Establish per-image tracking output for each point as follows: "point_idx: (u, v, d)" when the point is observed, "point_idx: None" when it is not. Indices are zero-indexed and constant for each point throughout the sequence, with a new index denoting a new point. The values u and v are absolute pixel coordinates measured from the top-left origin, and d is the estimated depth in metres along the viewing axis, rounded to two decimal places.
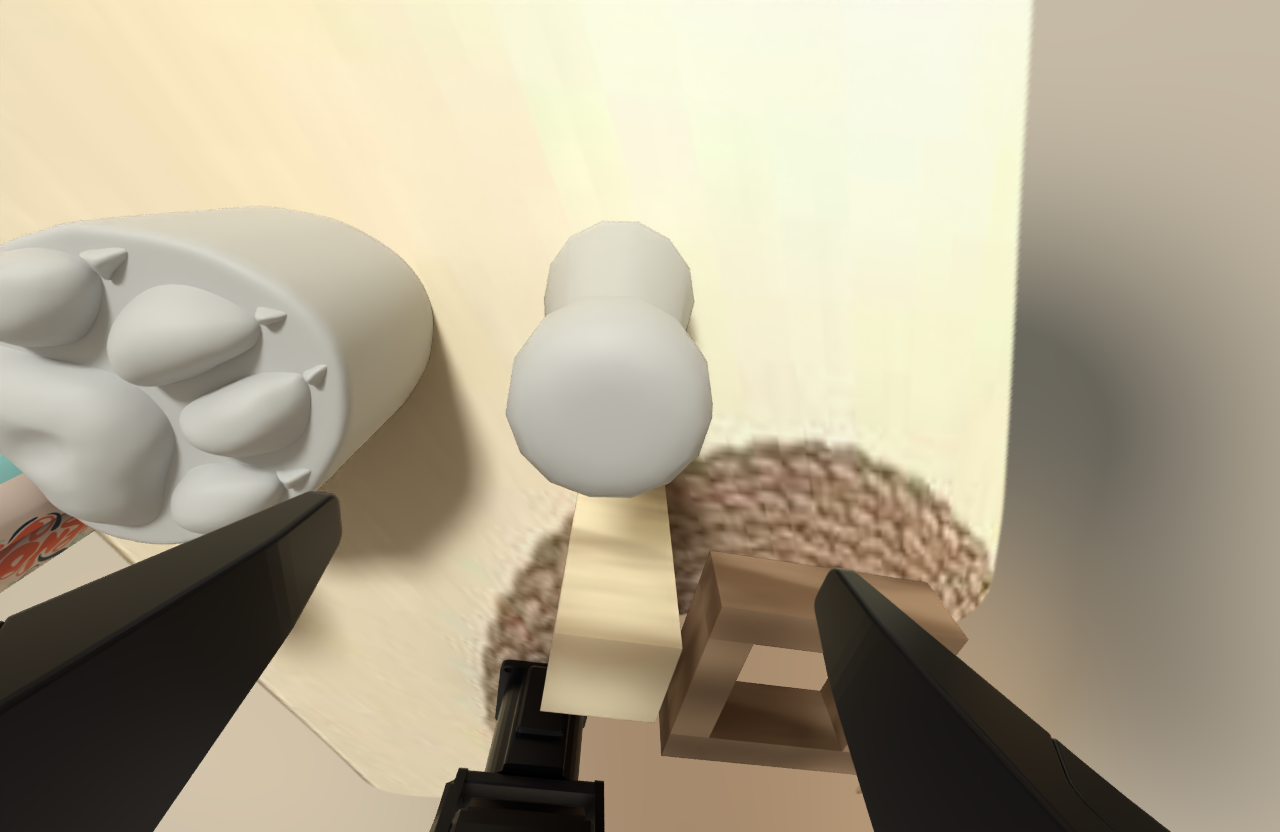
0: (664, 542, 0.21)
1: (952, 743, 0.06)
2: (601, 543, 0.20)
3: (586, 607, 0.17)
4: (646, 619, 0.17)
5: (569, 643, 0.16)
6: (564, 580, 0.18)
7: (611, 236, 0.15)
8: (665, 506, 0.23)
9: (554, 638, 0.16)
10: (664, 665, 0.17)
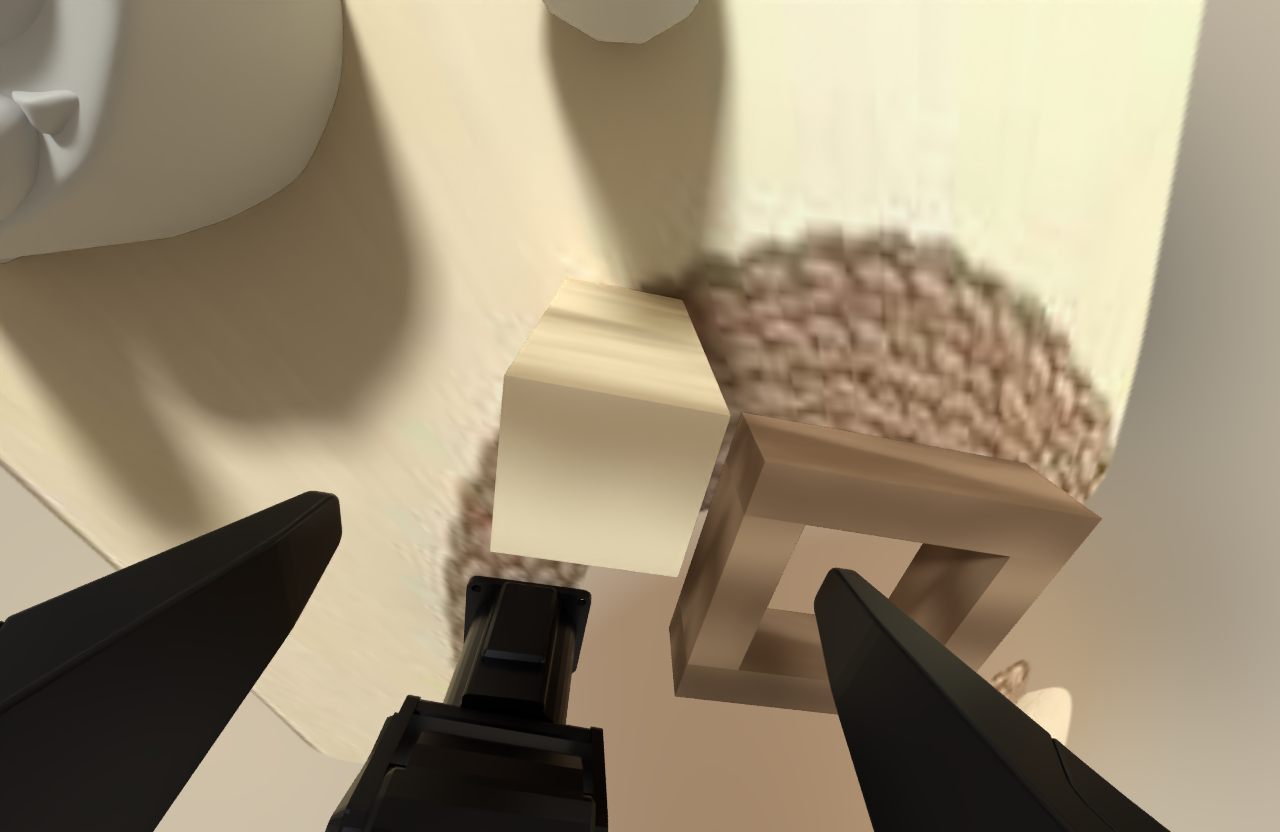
0: (687, 334, 0.14)
1: (952, 743, 0.06)
2: (592, 322, 0.13)
3: (564, 362, 0.10)
4: (666, 384, 0.10)
5: (531, 400, 0.09)
6: (530, 338, 0.11)
7: None
8: (685, 313, 0.16)
9: (505, 388, 0.09)
10: (697, 454, 0.10)
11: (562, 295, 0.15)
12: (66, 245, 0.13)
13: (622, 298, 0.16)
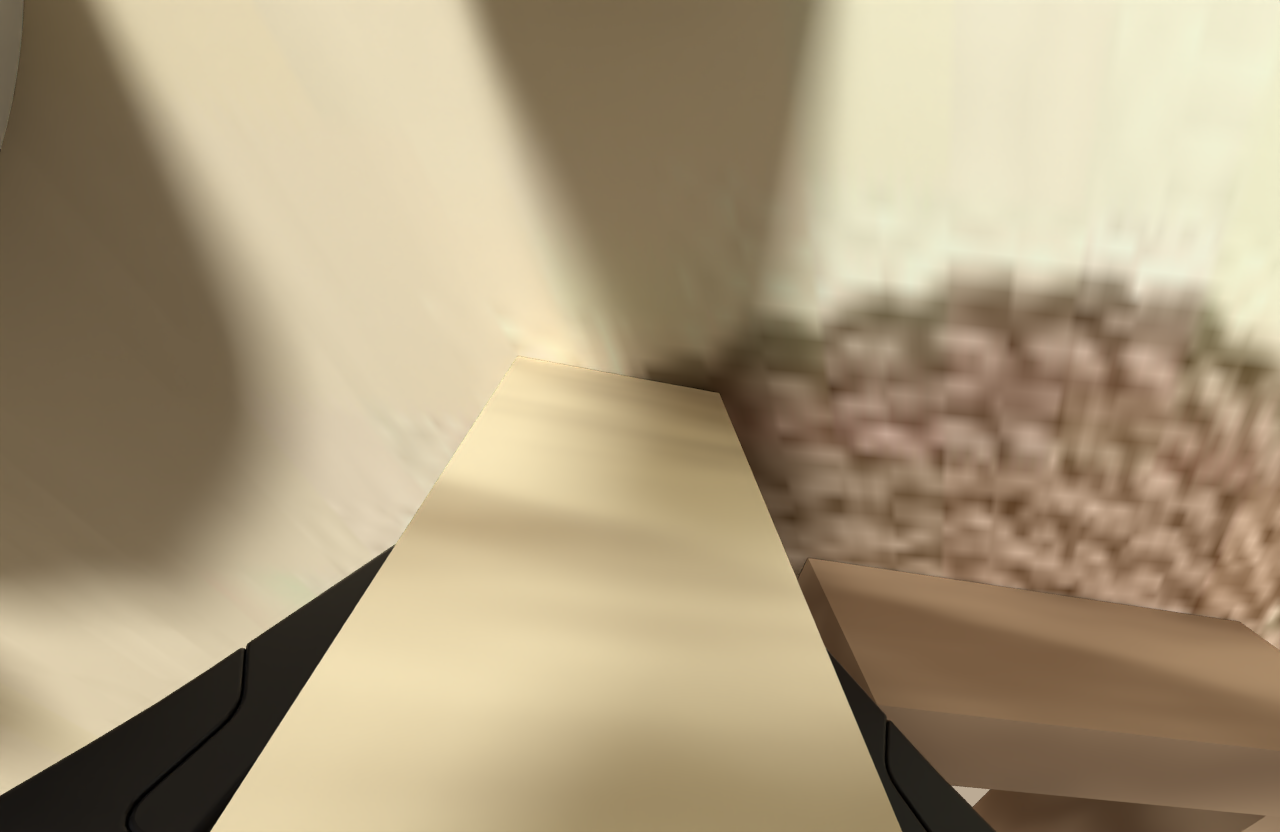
0: (756, 533, 0.06)
1: None
2: (532, 537, 0.05)
3: None
4: None
5: None
6: (279, 737, 0.03)
7: None
8: (733, 438, 0.09)
9: None
10: None
11: (487, 423, 0.07)
12: None
13: (613, 409, 0.09)
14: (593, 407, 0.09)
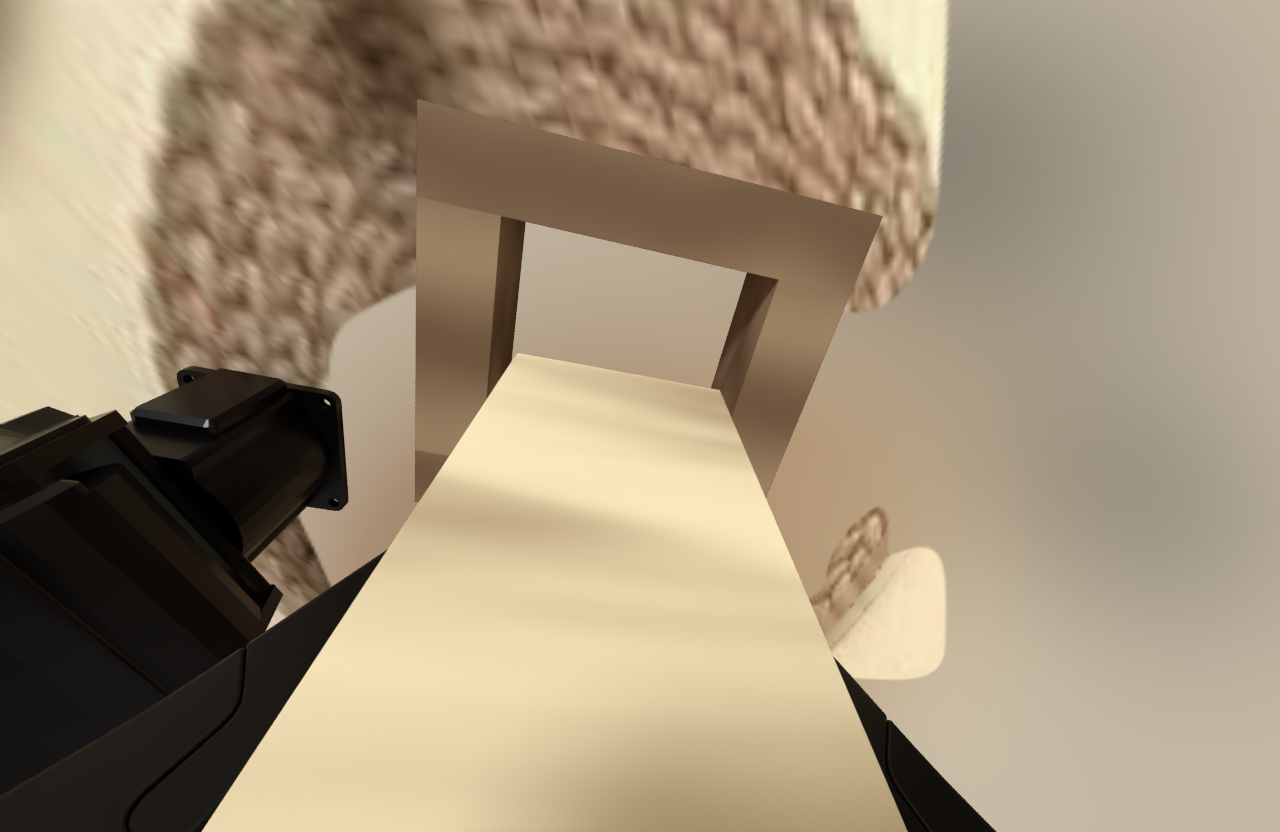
0: (757, 528, 0.06)
1: None
2: (532, 531, 0.05)
3: None
4: None
5: None
6: (276, 731, 0.03)
7: None
8: (734, 435, 0.09)
9: None
10: None
11: (487, 419, 0.07)
12: None
13: (613, 406, 0.09)
14: (593, 403, 0.09)
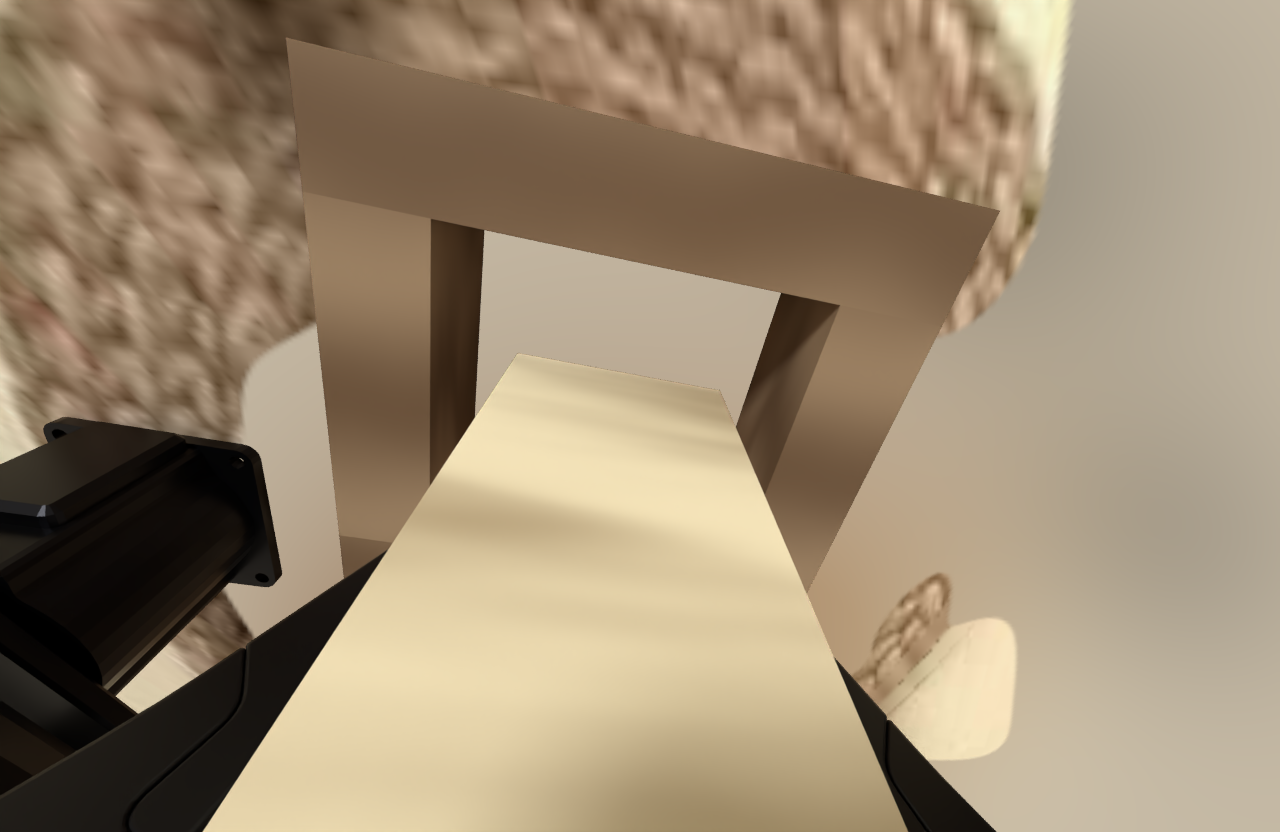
0: (758, 529, 0.06)
1: None
2: (532, 533, 0.05)
3: None
4: None
5: None
6: (275, 733, 0.03)
7: None
8: (734, 435, 0.09)
9: None
10: None
11: (487, 419, 0.07)
12: None
13: (613, 406, 0.09)
14: (593, 404, 0.09)
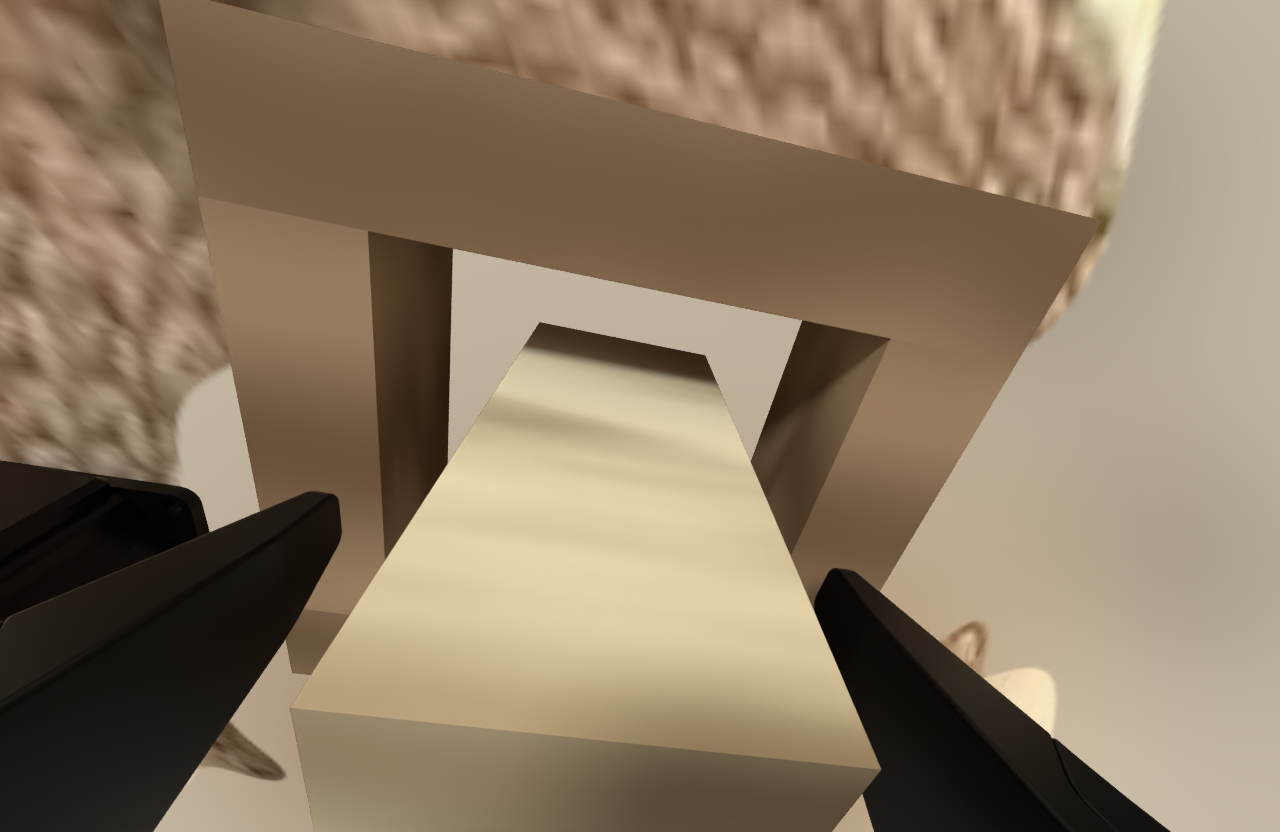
0: (725, 439, 0.08)
1: (952, 743, 0.06)
2: (564, 429, 0.08)
3: (482, 591, 0.04)
4: (712, 640, 0.05)
5: (375, 751, 0.04)
6: (426, 504, 0.05)
7: None
8: (714, 385, 0.11)
9: (300, 731, 0.03)
10: (789, 827, 0.04)
11: (523, 364, 0.10)
12: None
13: (618, 361, 0.11)
14: (603, 359, 0.11)
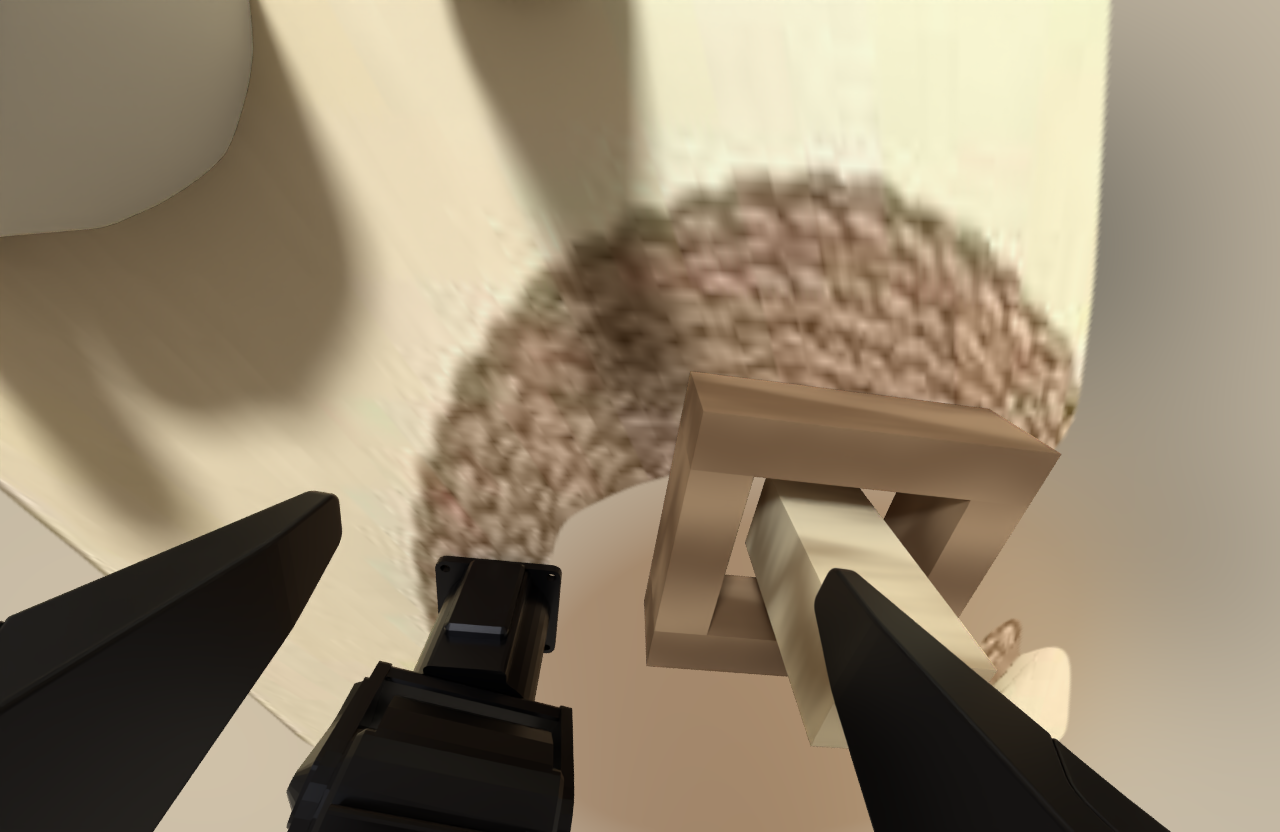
0: (898, 548, 0.19)
1: (952, 743, 0.06)
2: (838, 553, 0.18)
3: None
4: (939, 638, 0.15)
5: None
6: None
7: None
8: (873, 508, 0.21)
9: None
10: None
11: (790, 511, 0.20)
12: None
13: (823, 499, 0.21)
14: (816, 498, 0.21)
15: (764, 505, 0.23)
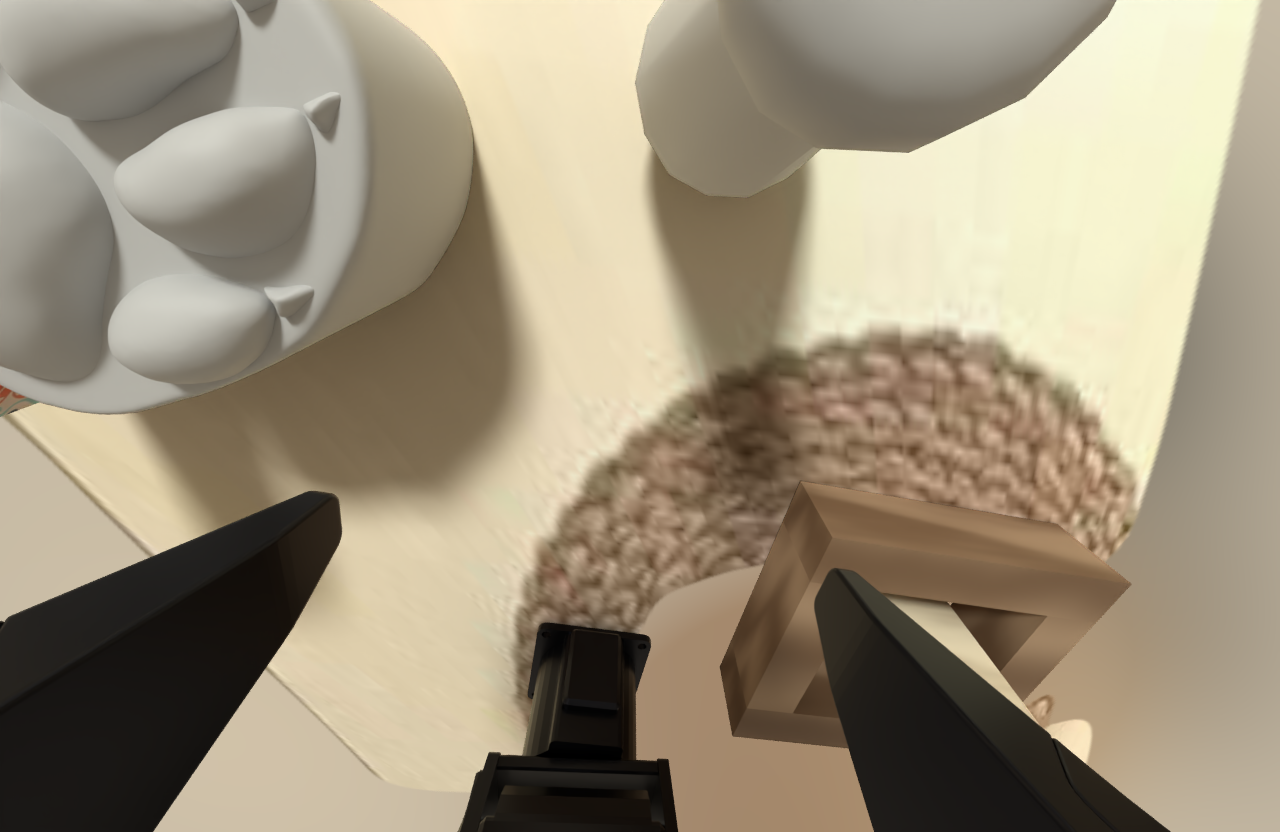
0: (981, 655, 0.21)
1: (952, 743, 0.06)
2: None
3: None
4: None
5: None
6: None
7: None
8: (950, 608, 0.24)
9: None
10: None
11: None
12: None
13: (906, 597, 0.24)
14: (900, 597, 0.24)
15: None
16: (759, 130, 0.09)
